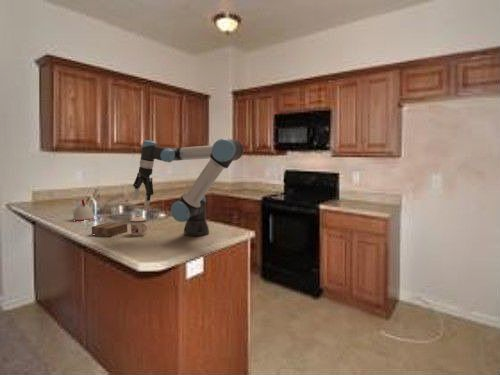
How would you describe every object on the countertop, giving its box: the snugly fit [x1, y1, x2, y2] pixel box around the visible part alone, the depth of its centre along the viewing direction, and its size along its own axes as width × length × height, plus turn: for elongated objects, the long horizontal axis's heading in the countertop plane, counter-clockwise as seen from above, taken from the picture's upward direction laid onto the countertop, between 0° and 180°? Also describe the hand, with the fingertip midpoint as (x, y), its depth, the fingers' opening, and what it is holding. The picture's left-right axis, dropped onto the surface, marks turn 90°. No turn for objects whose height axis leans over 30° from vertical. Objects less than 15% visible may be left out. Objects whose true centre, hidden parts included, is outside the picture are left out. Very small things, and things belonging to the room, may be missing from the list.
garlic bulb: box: [72, 199, 95, 221], centre depth 240 cm, size 14×14×15 cm
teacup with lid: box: [130, 214, 148, 237], centre depth 197 cm, size 12×9×12 cm
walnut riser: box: [91, 221, 128, 238], centre depth 200 cm, size 14×14×5 cm
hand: (141, 202), depth 196 cm, fingers open, 13 cm apart
